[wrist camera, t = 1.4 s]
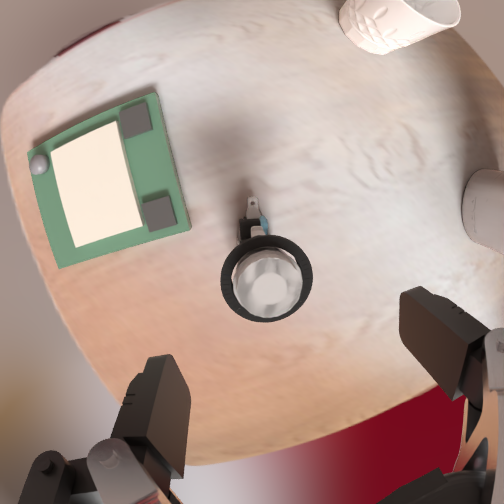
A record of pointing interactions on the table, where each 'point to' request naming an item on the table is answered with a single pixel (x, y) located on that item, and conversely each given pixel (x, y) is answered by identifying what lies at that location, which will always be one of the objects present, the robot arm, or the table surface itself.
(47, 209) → the board
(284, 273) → the push button
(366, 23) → the white cup
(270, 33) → the table surface
